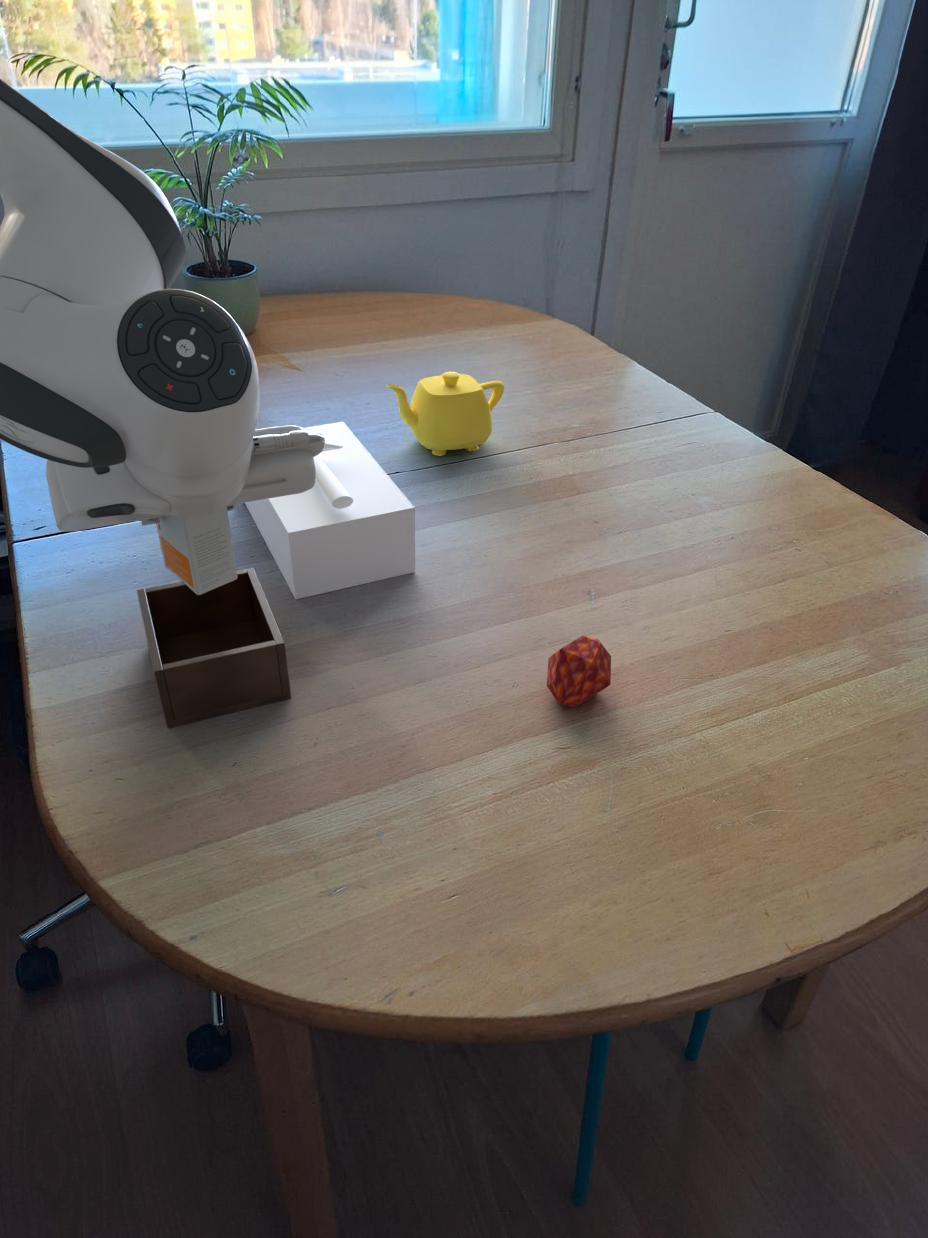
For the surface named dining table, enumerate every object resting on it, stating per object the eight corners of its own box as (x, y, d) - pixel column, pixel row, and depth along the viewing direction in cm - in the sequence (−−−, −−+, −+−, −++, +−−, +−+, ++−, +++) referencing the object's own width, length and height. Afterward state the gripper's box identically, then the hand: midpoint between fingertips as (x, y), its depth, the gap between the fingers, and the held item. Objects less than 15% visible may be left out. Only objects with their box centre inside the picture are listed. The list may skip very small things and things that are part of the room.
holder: (167, 728, 80) (153, 672, 76) (149, 643, 90) (136, 589, 86) (291, 698, 84) (284, 642, 80) (260, 620, 94) (253, 567, 90)
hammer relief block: (346, 480, 121) (342, 404, 114) (415, 572, 103) (414, 488, 96) (242, 499, 116) (231, 421, 109) (295, 599, 97) (286, 513, 91)
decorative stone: (538, 709, 87) (578, 648, 90) (595, 733, 83) (635, 668, 86) (519, 674, 83) (562, 611, 86) (579, 697, 79) (622, 630, 82)
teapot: (398, 467, 124) (397, 395, 118) (377, 436, 132) (374, 367, 126) (515, 451, 129) (519, 381, 123) (487, 421, 138) (490, 354, 131)
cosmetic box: (163, 568, 79) (137, 447, 72) (205, 552, 82) (184, 433, 75) (197, 598, 76) (174, 474, 69) (240, 580, 78) (222, 458, 71)
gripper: (318, 391, 66) (297, 456, 79) (25, 430, 59) (55, 493, 72) (338, 470, 65) (314, 522, 78) (44, 518, 59) (71, 566, 72)
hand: (188, 509), depth 75 cm, fingers closed on cosmetic box, 5 cm apart
